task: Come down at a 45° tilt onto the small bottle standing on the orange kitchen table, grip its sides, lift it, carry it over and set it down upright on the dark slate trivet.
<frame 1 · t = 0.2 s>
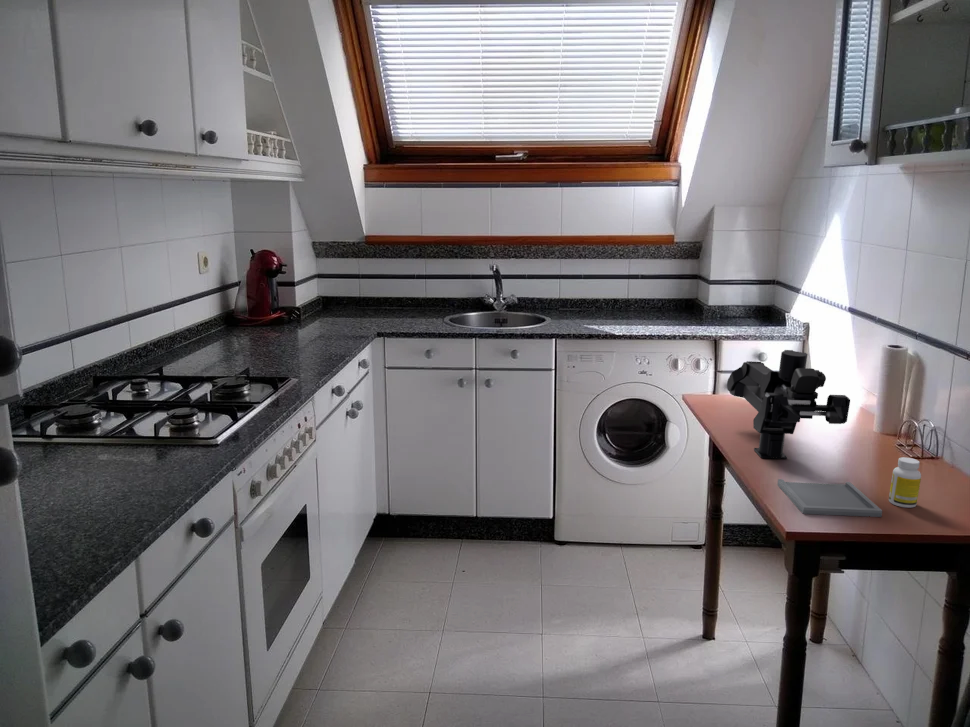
hand: (820, 420, 171), 17 cm above the table, tool horizontal, fingers open, 9 cm apart
slate trivet: (827, 500, 171), on the table
supplement bottle: (902, 504, 171), on the table
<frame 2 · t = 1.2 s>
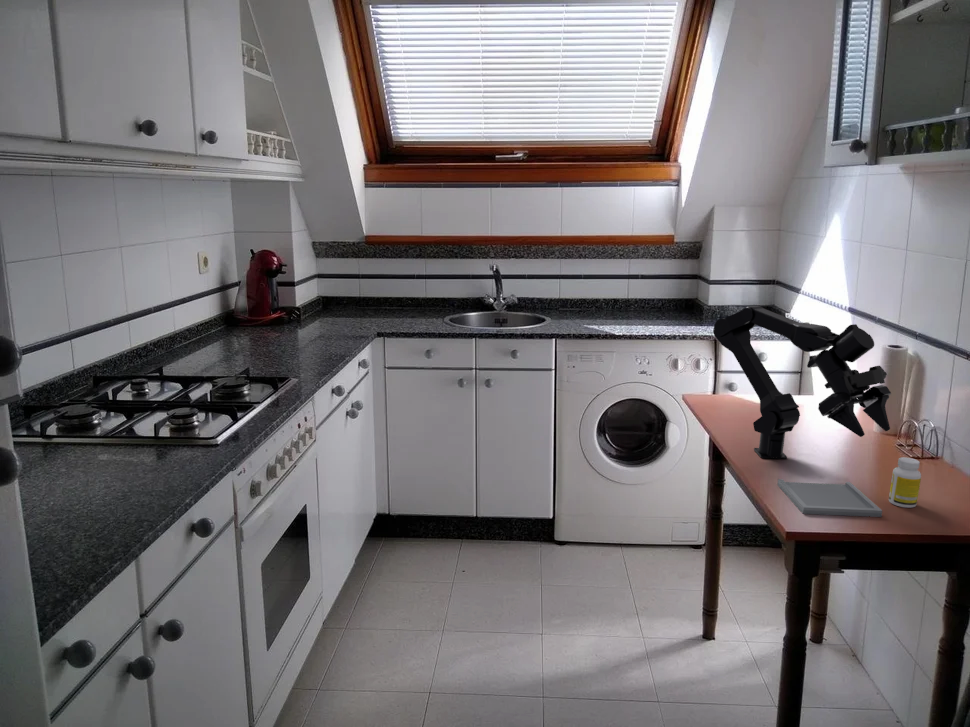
hand: (875, 433, 175), 13 cm above the table, tool tilted 45°, fingers open, 9 cm apart
nothing on the table moved.
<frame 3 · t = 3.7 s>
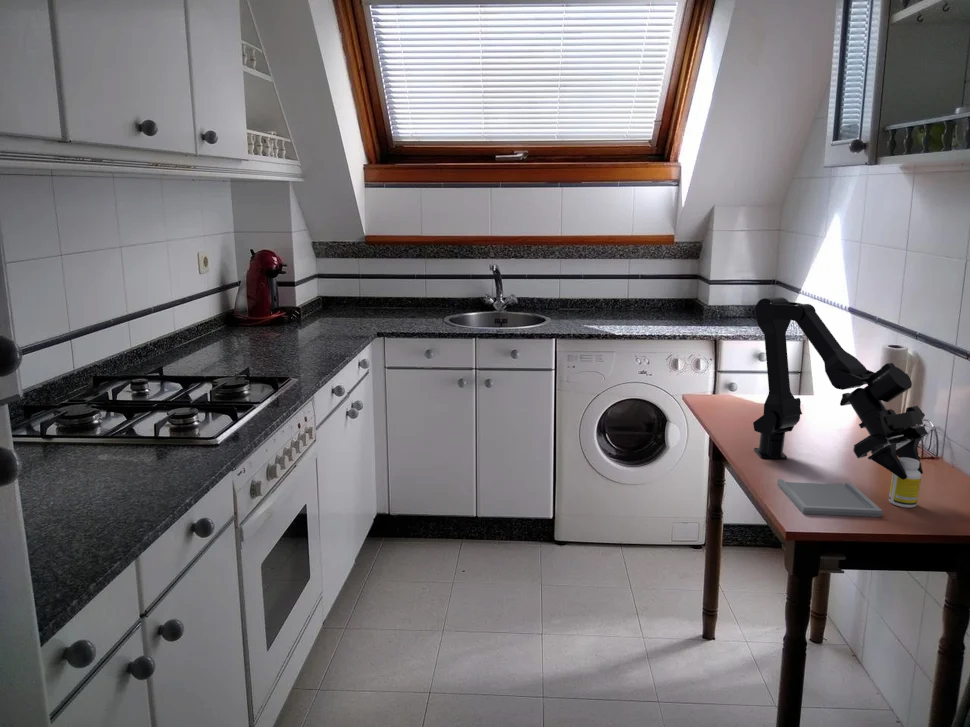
hand: (913, 476, 168), 7 cm above the table, tool tilted 45°, fingers closed on supplement bottle, 5 cm apart
supplement bottle: (902, 504, 171), on the table, touching gripper
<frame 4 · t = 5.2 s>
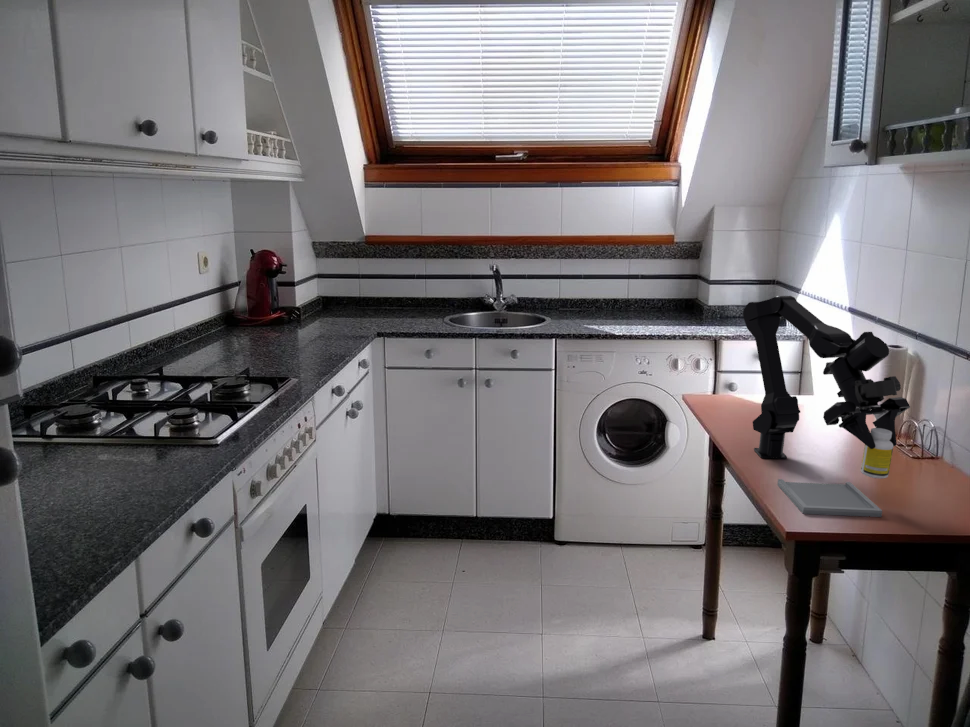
hand: (884, 447, 166), 13 cm above the table, tool tilted 45°, fingers closed on supplement bottle, 5 cm apart
supplement bottle: (874, 475, 169), point 6 cm above the table, touching gripper
when the fingers open (8 cm above the table, at t = 7.2 s): supplement bottle stays where it is, resting on slate trivet.
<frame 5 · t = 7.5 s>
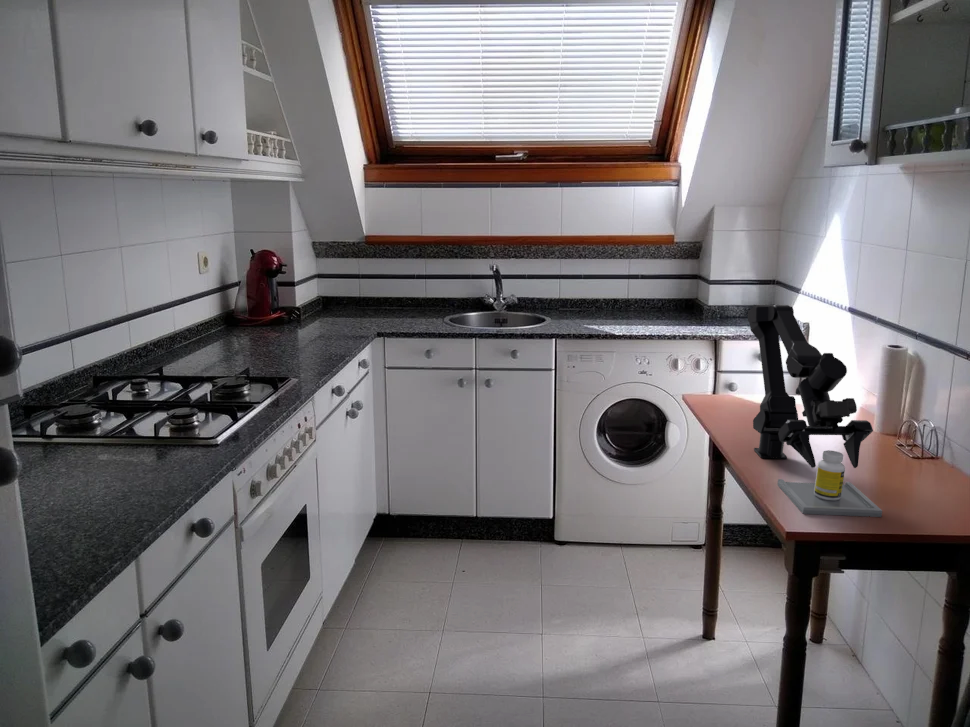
hand: (835, 467, 168), 8 cm above the table, tool tilted 45°, fingers open, 9 cm apart
supplement bottle: (826, 497, 171), point 1 cm above the table, touching slate trivet
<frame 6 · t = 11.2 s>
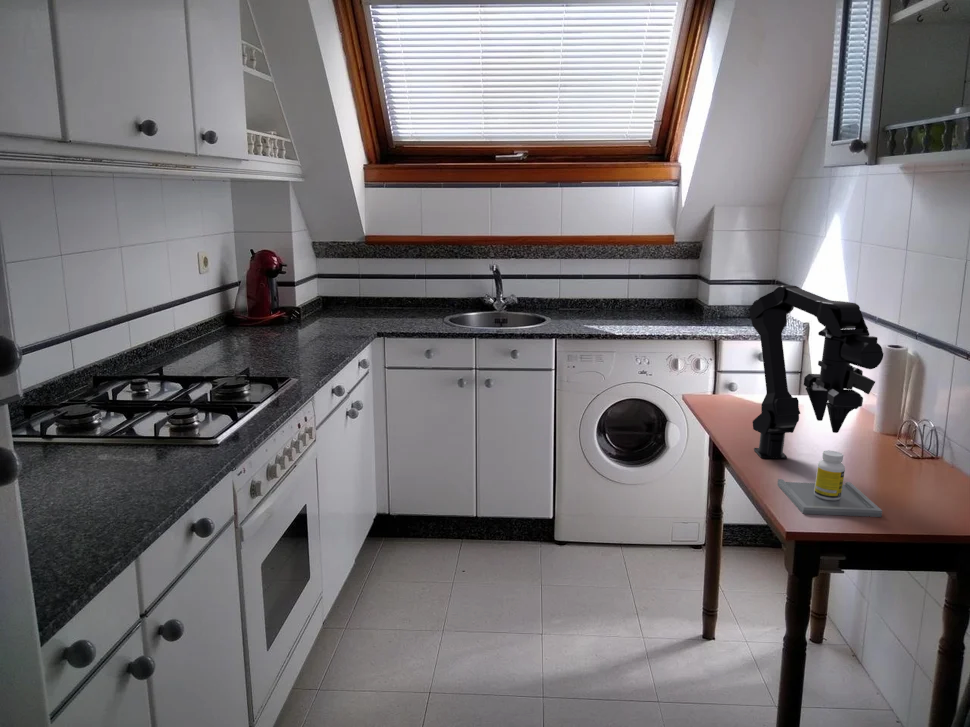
hand: (827, 426, 180), 13 cm above the table, tool pointing down, fingers open, 9 cm apart
nothing on the table moved.
at the end: supplement bottle inside the target area on the slate trivet (0.1 cm from its centre), point 0.6 cm above the slate trivet's base; supplement bottle tilted 0°; the gripper is holding nothing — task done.
